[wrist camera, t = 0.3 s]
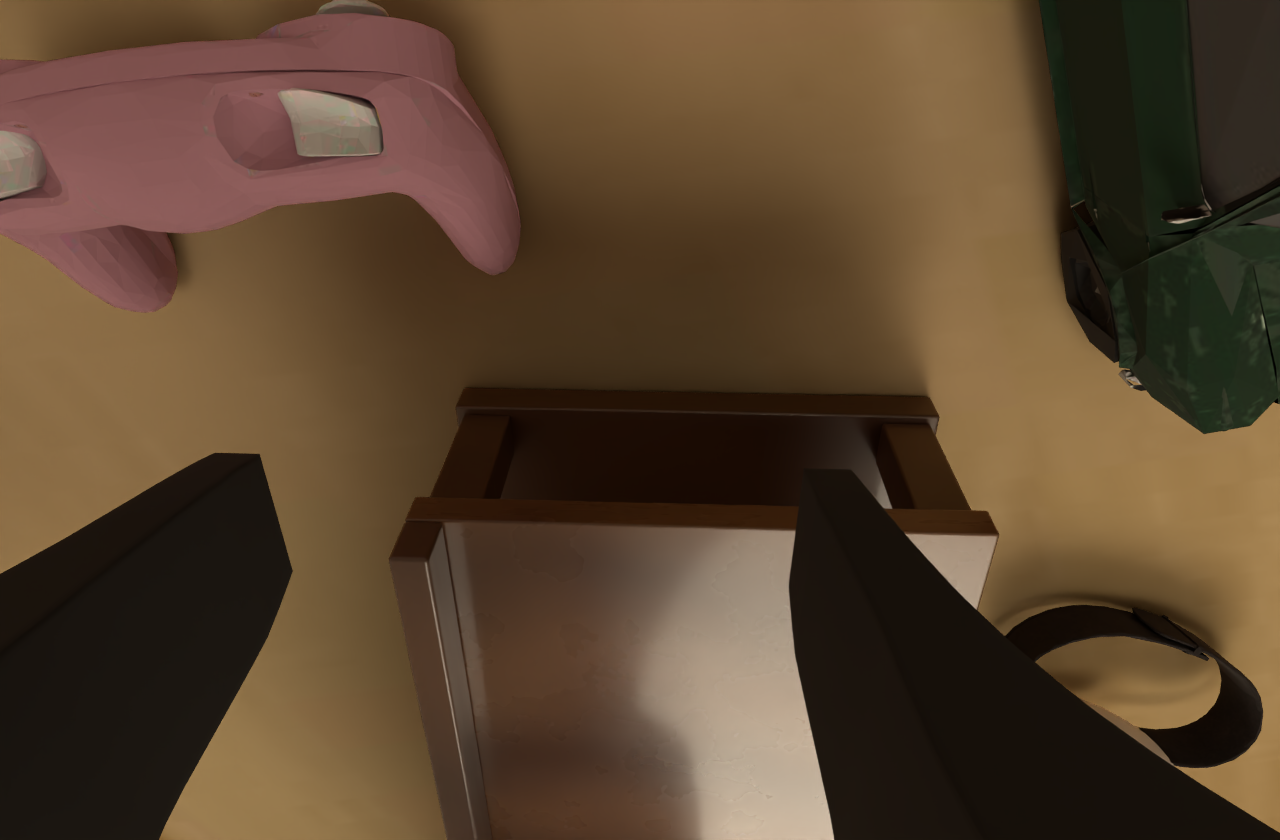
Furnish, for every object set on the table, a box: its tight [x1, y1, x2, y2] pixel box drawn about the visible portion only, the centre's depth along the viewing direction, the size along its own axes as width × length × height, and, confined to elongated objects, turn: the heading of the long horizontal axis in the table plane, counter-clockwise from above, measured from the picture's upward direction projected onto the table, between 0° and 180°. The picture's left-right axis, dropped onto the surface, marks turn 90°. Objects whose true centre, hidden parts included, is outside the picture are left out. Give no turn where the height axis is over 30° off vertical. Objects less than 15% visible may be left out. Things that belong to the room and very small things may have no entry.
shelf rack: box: [389, 388, 999, 840], centre depth 23 cm, size 16×12×7 cm
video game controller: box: [0, 0, 521, 313], centre depth 16 cm, size 10×5×7 cm, turn 97°
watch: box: [1005, 605, 1263, 768], centre depth 24 cm, size 8×5×4 cm, turn 73°
